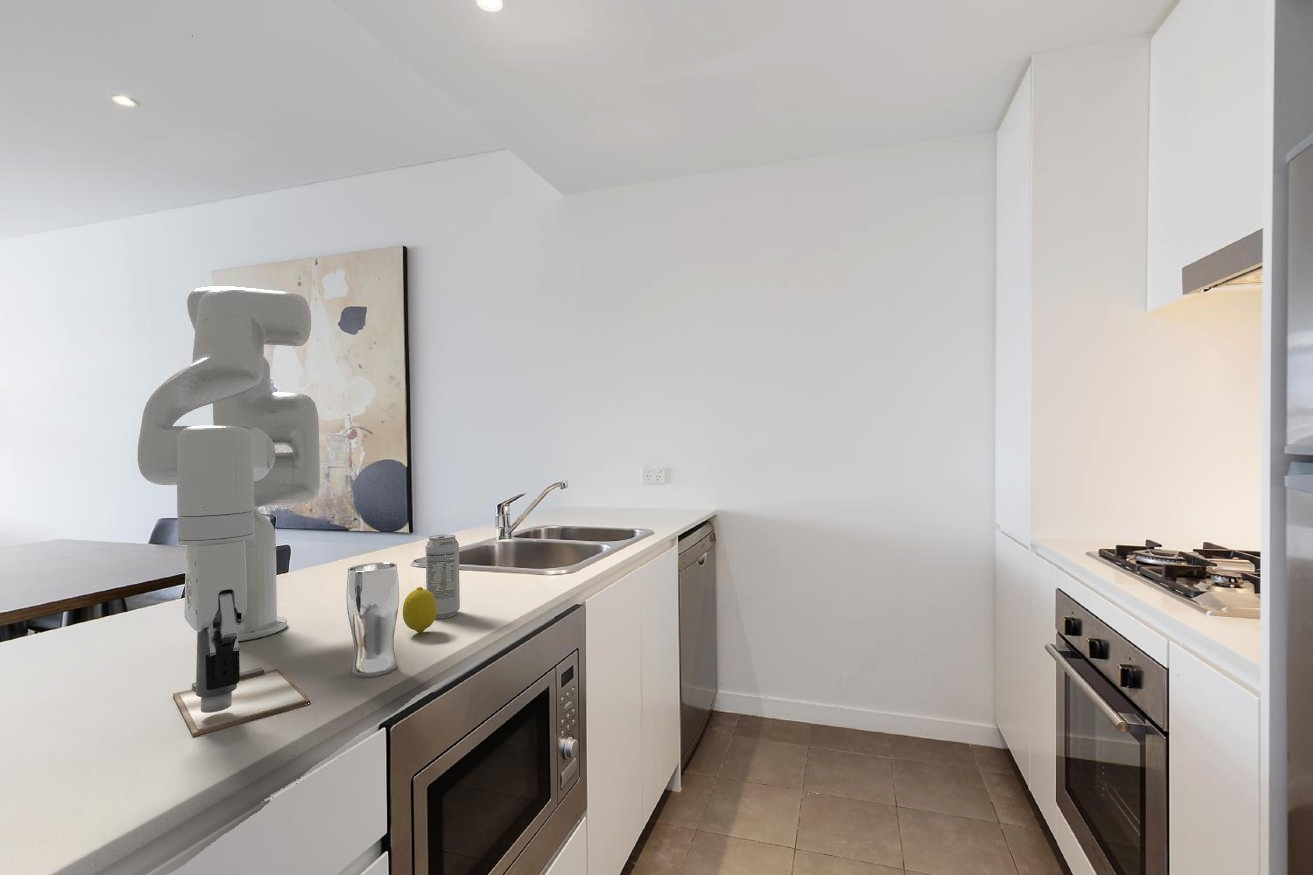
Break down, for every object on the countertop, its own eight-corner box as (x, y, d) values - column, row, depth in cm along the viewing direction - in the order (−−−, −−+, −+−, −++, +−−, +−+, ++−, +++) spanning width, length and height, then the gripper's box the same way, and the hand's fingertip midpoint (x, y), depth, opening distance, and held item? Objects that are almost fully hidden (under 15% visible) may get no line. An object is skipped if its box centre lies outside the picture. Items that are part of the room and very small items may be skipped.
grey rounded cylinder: (192, 707, 73) (194, 606, 74) (233, 697, 76) (235, 600, 77) (198, 717, 70) (200, 612, 71) (240, 707, 73) (242, 606, 74)
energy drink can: (463, 610, 120) (462, 533, 120) (454, 618, 114) (452, 538, 114) (433, 610, 120) (432, 534, 120) (421, 619, 114) (420, 539, 114)
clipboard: (172, 696, 81) (172, 687, 81) (277, 671, 89) (277, 662, 89) (192, 736, 69) (192, 725, 69) (310, 703, 78) (310, 693, 78)
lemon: (442, 628, 108) (441, 583, 109) (427, 638, 103) (427, 591, 103) (412, 628, 109) (412, 583, 109) (396, 638, 104) (395, 590, 104)
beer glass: (366, 682, 84) (364, 573, 84) (337, 673, 88) (335, 568, 88) (410, 666, 90) (408, 564, 90) (381, 658, 94) (380, 560, 94)
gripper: (168, 526, 77) (169, 672, 77) (189, 538, 65) (191, 712, 65) (239, 519, 82) (241, 656, 82) (270, 530, 70) (272, 690, 70)
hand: (219, 679), depth 74 cm, fingers closed on grey rounded cylinder, 3 cm apart
